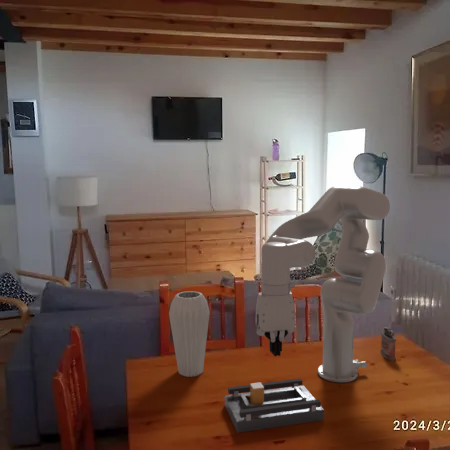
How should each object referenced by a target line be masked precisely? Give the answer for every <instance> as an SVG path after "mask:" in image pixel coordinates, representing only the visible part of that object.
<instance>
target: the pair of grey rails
mask: <svg viewBox="0 0 450 450" xmlns="http://www.w3.org/2000/svg"><path fill="white" fill-rule="evenodd" d="M261 384H262V385H263V387H264V390H272V389H280V388H287V387H293V388H294V387H295V386H303V379H302V378H293V379H287V380H277V381H271V382H270V381H269V382H261ZM227 392H228V395H233V396H234V397H238V394H240V393H248V392H250V384H246V385H245V384H244V385H239V386H237V385H236V386H229V387H228V388H227ZM321 406H322V401H321V400H320V399H319V398H318V399H316V400H310V401H302V402H295V403H288V404H280V405H273V406H266V407H258V408H251V409H243V410H239V415H240V417H241V418H244V417H245V419H246V421H249V420H251V416H259V415H266V414H273V413H280V412H287V411H294V410H301V409H310V410H311V411H312V412H313V411H316V407H321Z"/></svg>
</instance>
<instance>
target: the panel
mask: <svg viewBox="0 0 450 450" xmlns="http://www.w3.org/2000/svg"><path fill="white" fill-rule="evenodd" d="M310 400H317V399H316V398H315V397H314V395H312V394H311V392H310V391H309V390H308V389H307V388H306V387H305V385H303V384H302V385H299V386H295V387H294V388H293V387H284V388H276V389H268V390H264V403H256V404H251V402H250V392H244V393H238V397H234V396H233V394H226V395H224V407H225V409H226V411H227V413H228V416H229V417H230V420H231V421H232V424H233V426H234V429H235V431H236V433H237V434H238V433H243V432H245V433H246V432H252V431H258V430H265V429H271V428H278V427H285V426H292V425H298V424H299V425H300V424H305V423H306V424H307V423H313V422H319V421H325V409H324V407H323V406H322V405H321V407H316V411H313V412H312V411H311V410H310V409H301V410H294V411H287V412H280V413H273V414H266V415H259V416H251V420H249V421H246V419H245V417H244V418H241V417H240V415H239V410H243V409H251V408H258V407H266V406H273V405H280V404H288V403H295V402H302V401H310Z"/></svg>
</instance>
